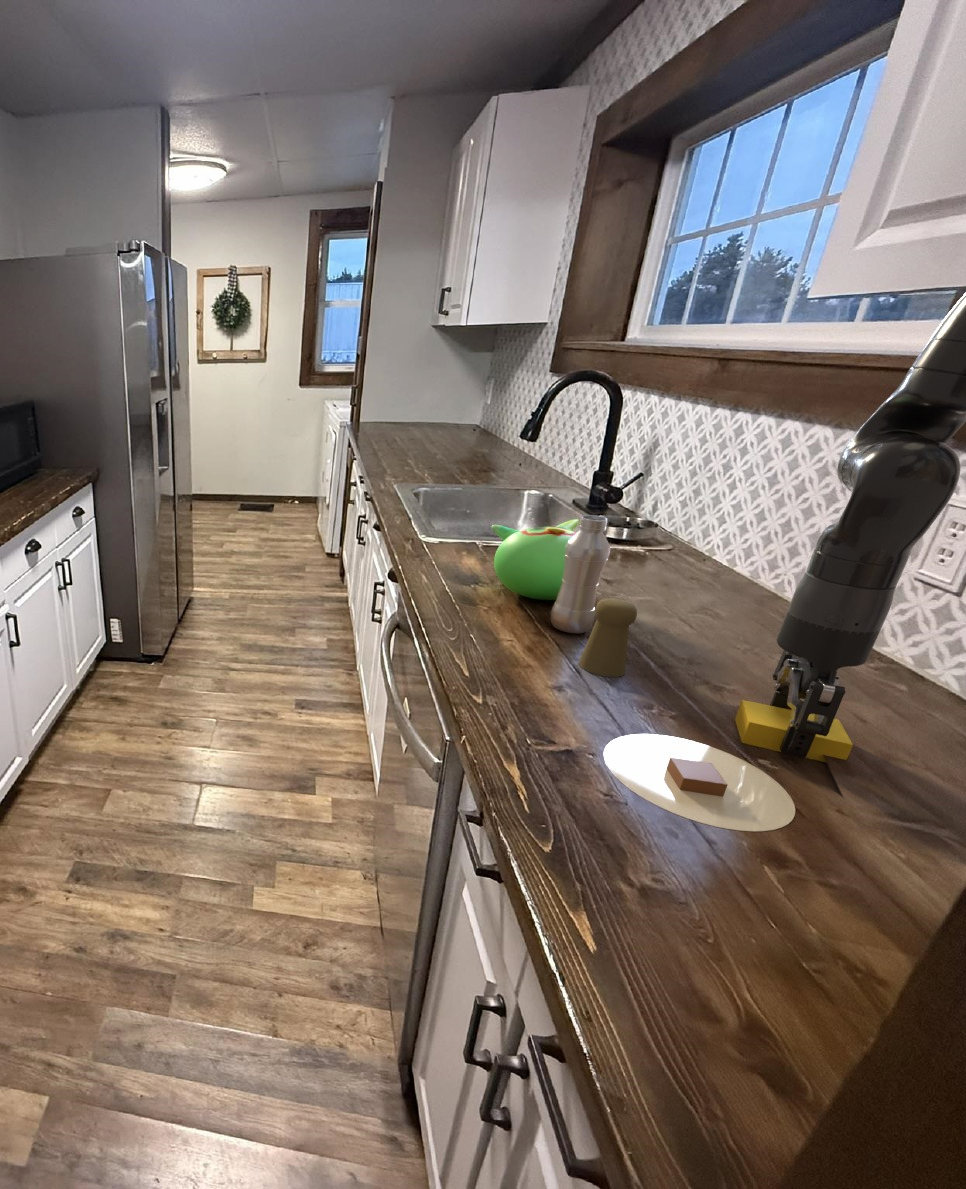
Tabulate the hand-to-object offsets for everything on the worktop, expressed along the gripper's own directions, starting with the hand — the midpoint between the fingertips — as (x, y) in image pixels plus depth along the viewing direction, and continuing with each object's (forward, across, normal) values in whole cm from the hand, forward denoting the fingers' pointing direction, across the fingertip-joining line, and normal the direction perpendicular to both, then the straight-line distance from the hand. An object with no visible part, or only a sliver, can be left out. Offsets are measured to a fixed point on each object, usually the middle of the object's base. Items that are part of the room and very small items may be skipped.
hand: (784, 736), depth 77 cm
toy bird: (+2, +41, +30) cm, 51 cm away
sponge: (+2, 0, 0) cm, 2 cm away
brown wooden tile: (+1, -15, +10) cm, 18 cm away
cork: (+2, +13, +19) cm, 23 cm away
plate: (+2, -14, +10) cm, 17 cm away
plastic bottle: (+2, +26, +24) cm, 35 cm away
